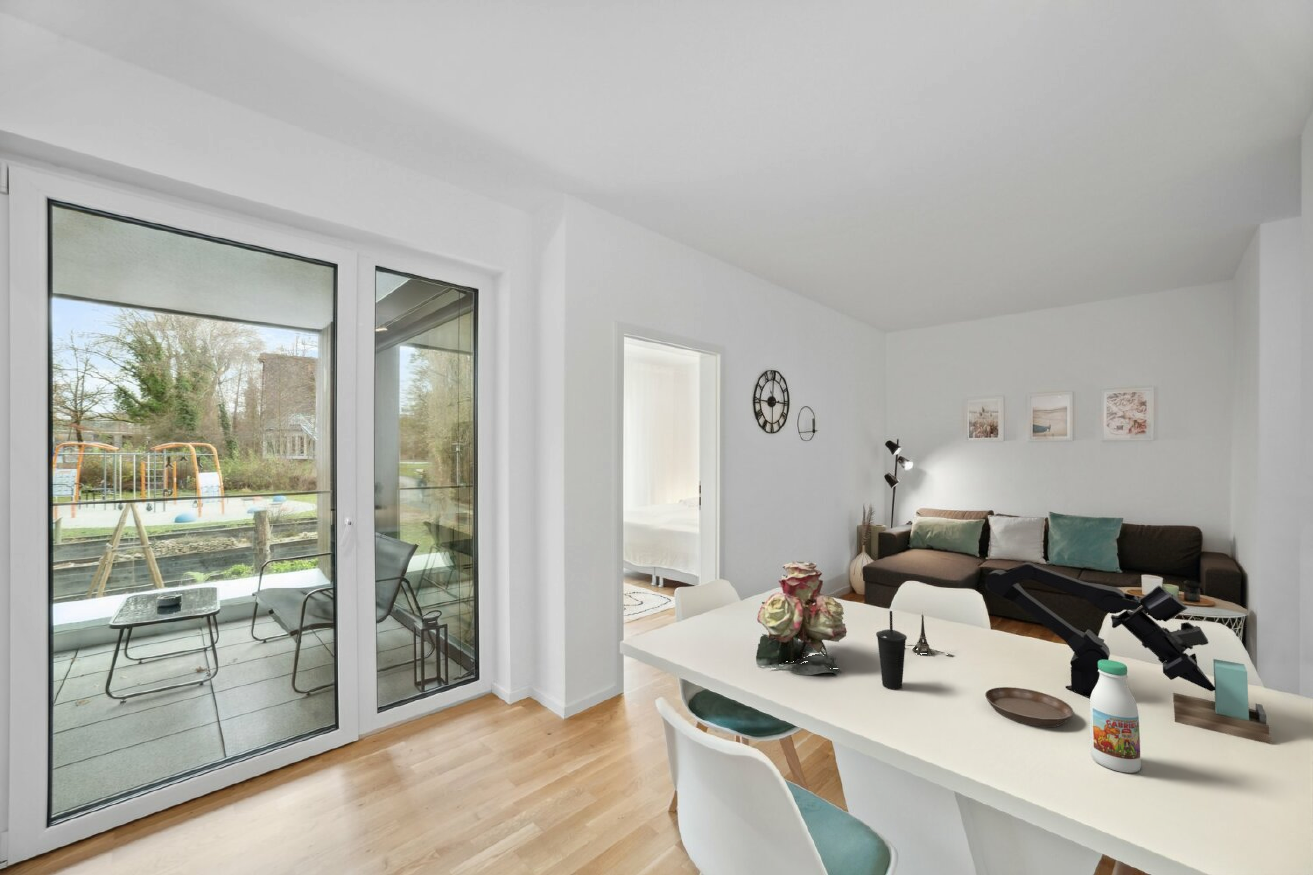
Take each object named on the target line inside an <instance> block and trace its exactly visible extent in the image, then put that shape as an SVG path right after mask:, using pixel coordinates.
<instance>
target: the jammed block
mask: <svg viewBox="0 0 1313 875" xmlns="http://www.w3.org/2000/svg"><path fill="white" fill-rule="evenodd" d="M1212 661H1213V682H1214V683H1213V686H1214V687H1215V690H1214V701H1215V711H1216V713H1217V714H1221V715H1226V716H1231V717H1235V718H1240V719H1244V720H1249V709H1250V708H1249V687H1248V686H1249V683H1248V681H1249V680H1248V670H1247V668H1246V666H1245V664H1244V663H1239V662H1234V661H1228V660H1223V659H1216V658H1215V659H1214V658H1213V660H1212Z"/></svg>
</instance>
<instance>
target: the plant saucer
mask: <svg viewBox="0 0 1313 875" xmlns="http://www.w3.org/2000/svg"><path fill="white" fill-rule="evenodd" d="M984 695H985V698H986V701H987V702H988V703H989V706H991V707H992V708H993V709H994V710H995V711H996V712H997V713H998V714H999V715H1001V716H1003V717H1005V718H1007V719H1009V720H1011V721H1014V722H1016V723H1021V724H1023V725H1027V726H1035V727H1042V728H1043V727H1046V728H1051V727H1052V728H1053V727H1058V726H1061V725H1063V724H1065V723H1066V722H1068V720H1070V719H1071V717H1072V716H1073V714H1074V709H1073V708H1072V706H1071V705H1070V704H1069V703H1067V702H1065V701H1064V700H1063V699H1060V698H1058V697H1055V696H1052V695H1051V694H1047V693H1043V692H1041V691H1037V690H1032V689H1029V688H1028V689H1027V688H1020V687H1011V686H1006V687H1004V686H1003V687H1000V686H999V687H993V688H990V689H988V690H987V691H985V694H984Z"/></svg>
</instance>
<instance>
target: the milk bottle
mask: <svg viewBox="0 0 1313 875" xmlns="http://www.w3.org/2000/svg"><path fill="white" fill-rule="evenodd" d="M1098 669H1099V670H1098V672H1099V673H1100V676H1099V680H1098V682H1097V684H1096V686H1095V688H1094V689H1093V691H1092V694H1091V697H1090V698H1089V699H1090V700H1089V726H1090V727H1089V731H1090V734H1089V735H1090V736H1089V737H1090V739H1089V740H1090V754H1091V758H1092V759H1093V760H1094V761H1095V762H1096V763H1097V764H1098V765H1101V766H1102V767H1104V768H1107V769H1110V770H1113V771H1117V772H1120V773H1125V774H1126V773H1127V774H1133V773H1134V774H1135V773H1138V772H1139V771H1140V770H1141V740H1140V736H1141V735H1140V734H1141V733H1140V717H1139V709H1138V705H1137V702H1136V699H1135V697H1134V696H1133V694H1132V692H1131V689H1130V688H1129V686H1128V683H1127V682H1128V681H1127V678H1128V666H1127V665H1126V664H1124V663H1122V662H1120V661H1116V660H1113V659H1112V660H1111V659H1109V660H1099V661H1098Z"/></svg>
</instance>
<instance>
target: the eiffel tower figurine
mask: <svg viewBox="0 0 1313 875" xmlns="http://www.w3.org/2000/svg"><path fill="white" fill-rule="evenodd" d="M923 613H924V612H923V611H922V614H921V616H920V617H921V626H920V635H919V638H918V640H917V642H916V644H907V645H906V646H915V647H914V648H913V649H912V650H911V652H913V654H915V653H917V655H920V657H921V656H923V657H935V654H934V653H941V654H943V653H944V652H942V651H939V650H937V649H932V648H931V647H930V644H929V643H928V641H927V636H926V631H925V621H924V617H925V616H924V614H923ZM917 648H918V650H916V649H917ZM933 652H934V653H933ZM920 653H927V654H922V655H921V654H920ZM947 654H948V655H945V656H946V657H949V658H955V657H956V655H954V654H951V653H947ZM917 655H916V656H917Z"/></svg>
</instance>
